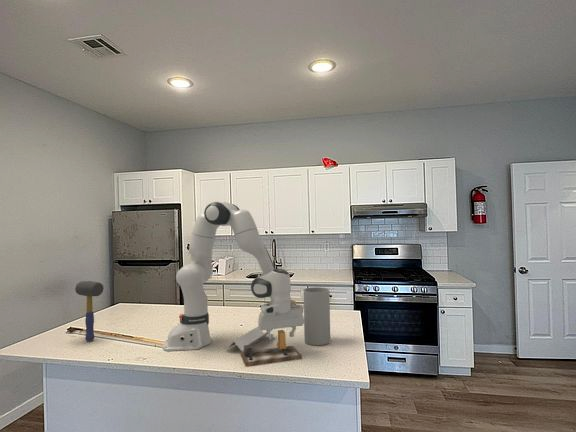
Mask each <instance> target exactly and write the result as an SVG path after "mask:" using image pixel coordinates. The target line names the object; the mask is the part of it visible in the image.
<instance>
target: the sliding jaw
mask: <svg viewBox="0 0 576 432" xmlns="http://www.w3.org/2000/svg"><path fill="white" fill-rule="evenodd" d="M286 338H287V337H286V331H285V330H284V329H281V330H277V342H276V346H277V347H276V348H279V349H282V351H283V352H284V354H285V355H287V352H286V351H285V349H286V346H287V343H286Z"/></svg>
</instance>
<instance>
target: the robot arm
mask: <svg viewBox="0 0 576 432" xmlns="http://www.w3.org/2000/svg"><path fill="white" fill-rule="evenodd" d="M203 211H204V212H201V213H200V214H198V216H197V217H196V219H195V222H194V225H193V228H192V232H191V237H190V241H189V242H190V243H189V246H188V249H189V250H188V251H189V252H190V263H188V264H185V265H183V266H182V267H181V268H180V269H179V270H178V271H177V272H176V275H175V280H176V283H177V284H178V285H179V286H180V289H181V291H182V296H183V305H184V306H183V311H184V313H180V314H178V315H179V316H178V318H179V323H178V324H177V325H175V326H174V327H173V328H172V329H171V330H170V331H169V333H168V336H167V340H165V341H164V342H163V343H164V344H163V343H162V349H163V350H164V351H165V352H172V351H173V352H174V351H192V350H193V351H194V350H200V349H202V348H203V347H206V346H208V345H209V344H211V343H212V337H211V334H210V327H209V324H210V314H209V311H208V310H209V309H208V308H209V307H208V306H209V304H208V295H207V294H206V292H205V288H204V283H206V282H208V281H209V280H210V279H211V277H212V275H213V273H214V269H213V266H212V265H213V263H212V261H213V260H212V259H213V257H212V255H213V248H214V243H215V239H216V238H215V237H216V234H217V229H218V228H219V227H220V226H221V227H224V226H225V227H226V226H227V227H228V226H229V227H230V228H231V230H232V232H233V236H234V239H235V242H236V244H237V246H238V248H239V249H240V250H241V251H243V252H245V253H247V254H250V255H251V256H253V257H254V258H255V259H256V260H257V261H258V265H259V267H260V269H261V271H262V275H260V276H257V277H255V278H254V279H252V281H251V284H250V291H251V293H252V294H253V296H254V297H256V298H258V299H264V298H270V301H271V302H270V301H269V302H267V303H264V304H262V305H260V312H259V315H258V322H257V323H258V324H257V327H259V328H260V329H261V330H262V331H266V332H268V339H269V340H274V334H273V333H271V332H272V331H271V329H273V330H276V329H285V328H286V329H287V328H292V329H291V331H289V337H290V338H292V337H293V338H294V336H295V332H296V330H297V327H302V326H304V306H302V305H301V304H296V305H291V300H292V298H291V277H290V274H289V272H288V271H287V270H285V269H281V268H276V266H275V264H274V262H273V260H272V258H271V255H270V253H269V250H268V249H267V246H266V245H265V243H264V242H263V239H262V238H261V236H260V233H259V230H258V227H257V224H256V222H255V220H254V218H253V216H252V214H251V212H250V211H249V210H247V209H240V208H239V206H237V205H236V204H233V203H228V202H226V201H225V202H222V201H221V202H219V201H213V202H210V203H208V204H207V205H206V207H205V208H204V210H203Z"/></svg>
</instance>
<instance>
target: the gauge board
mask: <svg viewBox="0 0 576 432" xmlns="http://www.w3.org/2000/svg"><path fill="white" fill-rule="evenodd" d="M252 346H253V345H252ZM252 346H251V345H244V351H243V352H242V351H240V357H241V359H242V361H243V364H244V366H245V367H253V366H260V365H265V364H267V363H268V364H275V363H282V362H289V361H294V360H295V359H296V360H301V359H302V357H303V356H302V354H301V352H300V351H298V350H297V348H296V347H295V346H294V345H286V349H285V351H286V352H287V355H285V354H284V352H283V351H282V349H279V348H278V347H272V348H264V349H256V350H254V349H253V347H252ZM296 360H295V361H296Z"/></svg>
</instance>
